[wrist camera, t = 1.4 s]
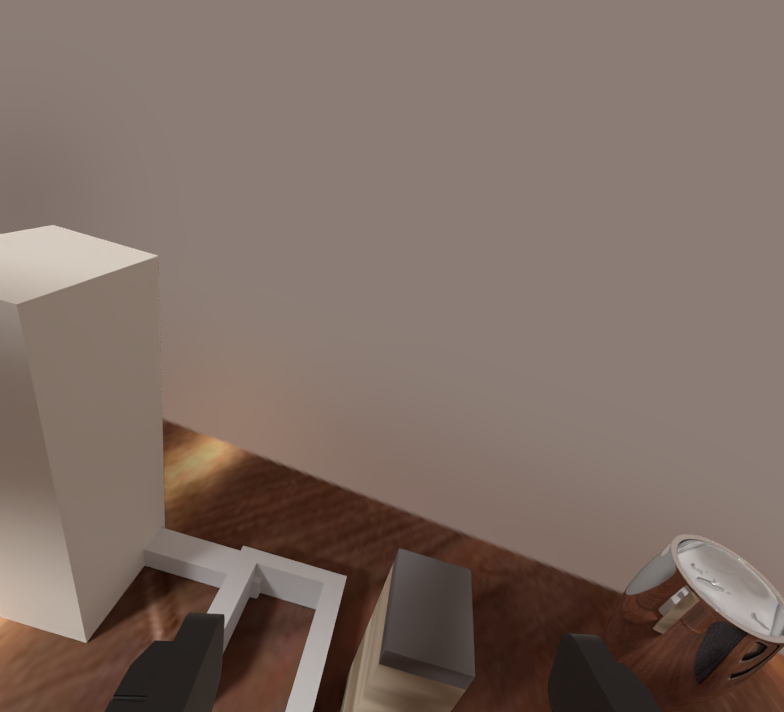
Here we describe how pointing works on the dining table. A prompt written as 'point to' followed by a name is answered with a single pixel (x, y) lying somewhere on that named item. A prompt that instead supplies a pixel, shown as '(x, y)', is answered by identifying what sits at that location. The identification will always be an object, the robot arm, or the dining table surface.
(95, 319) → the white socket stand
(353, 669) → the rail end
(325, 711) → the dining table surface
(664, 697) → the beer glass
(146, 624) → the dining table surface
